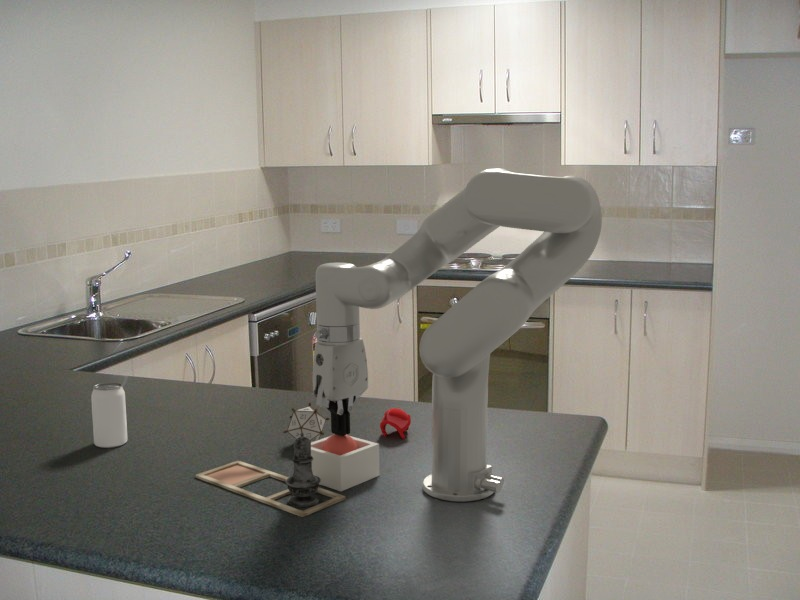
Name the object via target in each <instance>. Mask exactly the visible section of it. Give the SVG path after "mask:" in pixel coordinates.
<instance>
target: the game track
mask: <svg viewBox="0 0 800 600" xmlns="http://www.w3.org/2000/svg"><path fill="white" fill-rule="evenodd" d="M269 477H270V478H273V479H276V480H279V481H283V482H284V483H286V480H287V478H289V477H290V476H285V475H283V474H280V473H277V472H274V471H271V470H268V469H265V468H262V467H259V466H255V465H253V464H250V463H247V462H244V461H242V460H235V461H232V462H229V463H227V464H224V465H221V466H217V467H215V468H211V469H208V470H205V471H202V472H200V473H197V474H195V475H194V478H195V479H199V480H201V481H202V482H203V481H204V482H206V483H208V484H212V485H214V486H217V487H220V488H223V489H225V490H228V491H231V492H233V493H236V494H239V495H242V496H244V497H247V498H250V499H252V500H255V501H257V502H260V503H263V504H266V505H269V506H271V507H273V508H275V509H279V510H281V511H284V512H287V513H290V514H292V515H295V516H298V517H300V518H305V517H306V516H307V517H308V516H310V515H312V514H313V513H315V512H316V513H317V512H319V511H321V510H323V509H325V508H328V507H330V506H333V505H334V504H335V505H336V504H338V503H340V502H343V501H344V500H346V499H347V498H346V495H343V494H339V493H336V492H333V491H331V490H327V489H324V488H322V487H320V486H319V487H318V489H317V491H316V492H315V493H317V494H321V495H323V496H326V497H329V498H331V499H329V500H325V501H323V502H321V503H317V504H315V505H312V506H310V507H309V508H307V509H304V510H301V509H298V508H295V507H294V506H291V505H290V506H289V505H287V504H285V503H282V502H279V501H276V500H278V499H280V498H283V497H285V496H288V495H292V494H291V493H290V491H289V489H288V488H287V489H284V490H282V491H279V492H277V493H274V494H271V495H269V496H266V497H265V496H262V495H259V494H257V493H254V492H252V491H249V490H246V489H243V487H245V486H247V485H250V484H254V483H256V482H259V481H261V480H264V479H266V478H269Z"/></svg>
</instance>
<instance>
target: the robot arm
mask: <svg viewBox="0 0 800 600" xmlns="http://www.w3.org/2000/svg"><path fill="white" fill-rule="evenodd" d="M598 196H599V195H598V193H597V191H596V189H595V188H594V186H593V185H592V183H590V182H589V181H588V180H587V179H584V178H582V177H579V176H577V175H576V176H575V175H566V176H562V177H561V176H551V175H540V174H528V173H519V172H514V171H513V172H512V171H510V170H508V169H506V168H499V167H497V168H487V169H483V170H482V171H480V172H478V173H476V174H474V176H472V177H471V178H470V179H469V181H468V182H467V184H466V185H465V187H464V188H463V189H461V191H460V192H459V193H457V194H456V195H454V196H453V197H451V198H450V199H449V200H448V201H447V202H445V203H444V204H442V205H441V206H440V207H438V208H437V209H436V210H434V211H433V212H431V213H430V214H429V215H428V216H426V217H425V219H424V220H423V221H422V224H421V225H420V227H419V229H418V230H417V231H416V232H415V234H414V235H412V236H411V237H410V238H409V239H408V240H407V241H405V242H404V243H403V244H402V245H400V246H399V247H397V248H396V249H394V251H392V252H391V253H389V254H388V255H387V256H386V257H384V258H383V259H381V260H379V261H376V262H374V263H371V264H368V265H364V266H357V265H355V264H354V263H349V262H327V263H323V264H320V265H318V266H317V267H316V270H315V302H316V303H315V305H316V308H315V309H316V311H315V312H316V331H315V333H314V338H315V339H316V340H317V341H316V343H315V344H314V345H315V346H314V353H313V362H312V390H313V391H312V393H313V395H314V397H315V398H316V403H315V405H316V407H318V408H324V409H325V408H326V409H327V412H328V413H330V431H331V433H332V435H334V434H337V435H341V436H344V435H350V434H351V412H352V411H353V407H354V403H355V401H356V400H357V399H358V398H360V397H361V396H362V395H363V394H364V393H365V392H366V391H367V390H368V388H369V371H368V361H367V359H368V358H367V353H366V348H365V343H364V340H363V338H362V337H361V334H360V333H361V332H360V329H361V328H360V326H361V325H360V324H361V323H360V308H364V309H369V310H379V309H383V308H385V307H386V306H388V305H390V304H392V303H393V302H395V301H398V300H400V299H401V298H403V297H404V296H405V295H406V294H408V293H409V292H410V291H412V290H413V289H415V288H416V287H417V286H418V285H420V284H422V283H423V282H424V281H425V280H427V279H428V278H429V277H431V276H432V275H433V274H435V273H436V272H437V271H438V270H440V269H441V268H443V267H444V266H446V265H448V264H451V263H453V262H454V261H455V260H456V259H458V258H459V257H460V256H461V255H463V254H464V253H465V252H467V251H468V250H469V249H471V248H472V247H474V246H475V245H476V244H478V243H479V242H480V241H482V240H483V239H484V238H486V237H488V236H489V235H490V234H491V233H493V232H494V231H495V230H497V229H498V228H499V227H503V228H510V229H519V230H520V229H521V230H527V231H536V232H538V231H539V232H543V233H541V234H540V235H539V236H538V237H537V238H536V239H535V240H534V241H533V242H531V244H529V245H528V246H527V247H526V248H525V249H523V251H522V252H520V253H519V254H518V255H517V256H516V257H514V258H513V259H512V260H511V261H510V262H509V263H508V264H505V266H503V267H502V268H501V269H499V270H498V271H495V272H494V273H492V274H490V275H488V276H487V277H485V278H484V279H483V280H482V281H480V282H479V283H477V285H475V287H473V288H472V289H471V290H469V291H468V292H467V293H466V294H465V295H464V296H462V297H461V298H460V299H459V300H458V301H457V302H456V303H454V304H453V305H452V306H451V307H450V308H449V309H447V310H446V311H445V312H444V313H443V314H442V315H440V316H439V317H438V318H436V320H434V321H433V322H432V323H431V324H430V325H429V326H428V327H427V328H426V329H425V330H424V332H423V333H422V335H421V338H420V341H419V355H420V359H421V362H422V364H423V365H424V367H425V368H426V369H427V370H428V371H429V372H430V373H432V385H431V388H432V389H431V391H432V392H431V473H430V474H429V475H427V476H426V477H425V478H424V479H423V480H422V489H423V491H424V492H425V493H426V494H427V495H428V496H431V497H433V498H436V499H439V500H441V501H442V500H443V501H448V502H463V503H464V502H474V501H479V500H483V499H487V498H488V497H489V496H491V495H493V494H494V493H497V494H500V493H501V492H502V490H503V485H504V482H505V480H504V477H501V476H498V475H493V466H492V465H491V464H487V463H488V461H487V460H488V459H487V458H488V457H487V455H488V451H487V450H488V403H489V401H488V399H489V397H488V396H489V371H490V360H491V359H490V358H491V354H492V352H494V351H495V350H496V349H498V347H500V346H501V345H503V343H504V342H506V341H507V340H508V339H510V337H512V336H513V335H514V334H516V333H517V332H518V331H519V330H520V329H521V328H522V327H523V326H524V325H525V324H526V323H527V321H528V320H529V318H530V317H531V316H532V314H533V313H534V312H535V311H536V310H537V309H538V308H539V307H540V306H541V305H542V304H543V303H544V302H545V301H546V300H547V299H549V298H550V297H552V295H554V293H556V292H557V291H558V290H559V289H561V288H562V287H563V286H564V285H565V284H566V283H567V282H568V281H569V280H570V279H571V278H572V277H574V276H575V275H577V273H578V272H579V271H581V269H582V268H583V267H584V266H585V264H587V262H588V261H589V260H590V258H591V256H592V254H594V251H595V249H596V248H597V245H598V243H599V240H600V236H601V233H602V223H603V221H602V220H603V216H602V206H601V202H600V199H599V197H598Z"/></svg>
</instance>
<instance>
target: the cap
mask: <svg viewBox="0 0 800 600" xmlns="http://www.w3.org/2000/svg"><path fill="white" fill-rule="evenodd" d="M411 420H412V417H411V414H408V413H407V412H406V411H405V410H403V409H400V408H396V407H394V408H393V407H392V408H389V409H387V410H386V411H385V412H384V414H383V417H382V419H381V422H380V423H379V427H380V430H381V433H382V435H383V436H384V437H387V436H388V433H387V430H386V428H387V425H388V426H389V425H390V426H391V427H393V428H394V429H396V430H397V432H398V433H399V436H400V438H401V439H402V440H404V439H406V436H405V434H404V432H406V431H408V430H409V427H410V425H411V422H412V421H411Z"/></svg>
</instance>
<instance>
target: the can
mask: <svg viewBox="0 0 800 600" xmlns="http://www.w3.org/2000/svg"><path fill="white" fill-rule="evenodd" d="M92 389H93V390H92V392H91V394H90V395H91V401H90V402H91V416H92V417H91V419H92V429H93V430H92V432H93V433H92V434H93V444H94V445H95V446H96V448H101V449H113V448H114V449H115V448H119V447H121V446H123V445H125V444H126V443H127V442H128V425H127V423H128V422H127V408H126V392H125V389H124V388H123V384H122V383H121V382H104V383H103V382H102V383H98V384H95V385H93V386H92Z"/></svg>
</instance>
